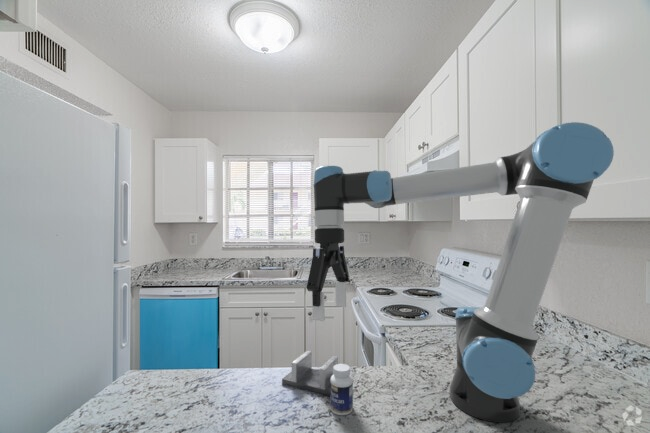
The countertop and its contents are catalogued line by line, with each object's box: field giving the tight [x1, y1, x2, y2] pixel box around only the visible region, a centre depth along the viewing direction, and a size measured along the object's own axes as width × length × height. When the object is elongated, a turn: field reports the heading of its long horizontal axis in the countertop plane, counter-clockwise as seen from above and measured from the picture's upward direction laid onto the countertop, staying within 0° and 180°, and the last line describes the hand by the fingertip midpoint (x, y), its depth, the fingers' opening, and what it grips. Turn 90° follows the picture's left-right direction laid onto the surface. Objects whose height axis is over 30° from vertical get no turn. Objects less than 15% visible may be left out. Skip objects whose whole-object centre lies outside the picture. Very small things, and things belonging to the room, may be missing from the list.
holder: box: [281, 350, 339, 398], centre depth 81 cm, size 16×9×6 cm, turn 65°
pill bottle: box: [329, 363, 354, 416], centre depth 69 cm, size 5×5×10 cm
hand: (330, 312), depth 72 cm, fingers open, 13 cm apart
